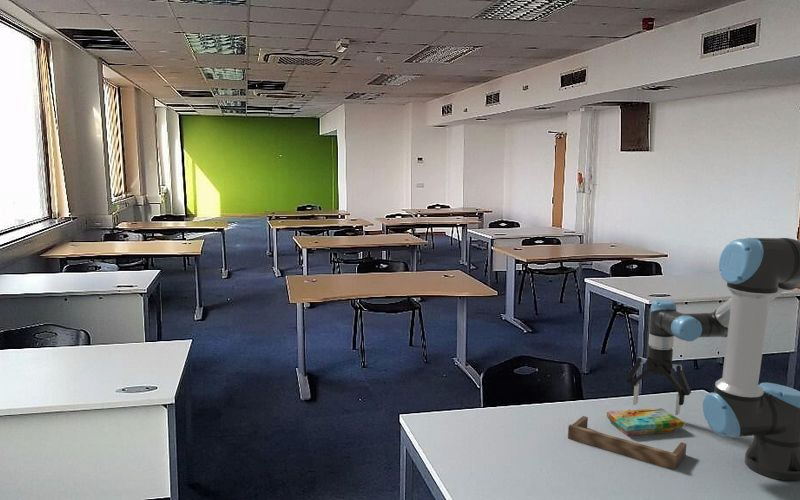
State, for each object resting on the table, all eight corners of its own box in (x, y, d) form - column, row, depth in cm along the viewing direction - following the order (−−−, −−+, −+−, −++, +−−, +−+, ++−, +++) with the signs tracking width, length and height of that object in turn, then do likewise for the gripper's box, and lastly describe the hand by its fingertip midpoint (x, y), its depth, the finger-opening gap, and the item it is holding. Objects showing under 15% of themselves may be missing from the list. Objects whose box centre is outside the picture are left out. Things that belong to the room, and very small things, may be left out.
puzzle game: (606, 409, 203) (661, 405, 207) (606, 423, 204) (660, 419, 208) (627, 424, 192) (684, 419, 196) (626, 438, 193) (683, 433, 197)
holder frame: (685, 455, 181) (686, 442, 181) (674, 469, 173) (675, 455, 172) (582, 426, 200) (583, 414, 200) (567, 438, 192) (568, 425, 191)
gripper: (704, 351, 202) (699, 414, 204) (626, 337, 217) (622, 396, 220) (698, 357, 196) (693, 421, 199) (618, 342, 211) (615, 402, 214)
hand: (656, 408), depth 209 cm, fingers open, 13 cm apart
